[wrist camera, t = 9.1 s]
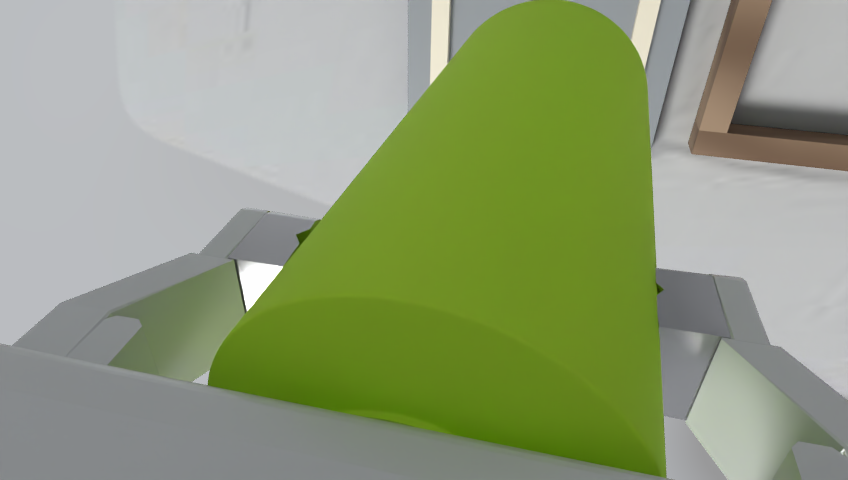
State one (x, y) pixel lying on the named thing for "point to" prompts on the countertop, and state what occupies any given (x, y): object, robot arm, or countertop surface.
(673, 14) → the slate board
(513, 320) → the soap dispenser
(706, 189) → the countertop surface
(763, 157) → the walnut template frame
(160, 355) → the robot arm
